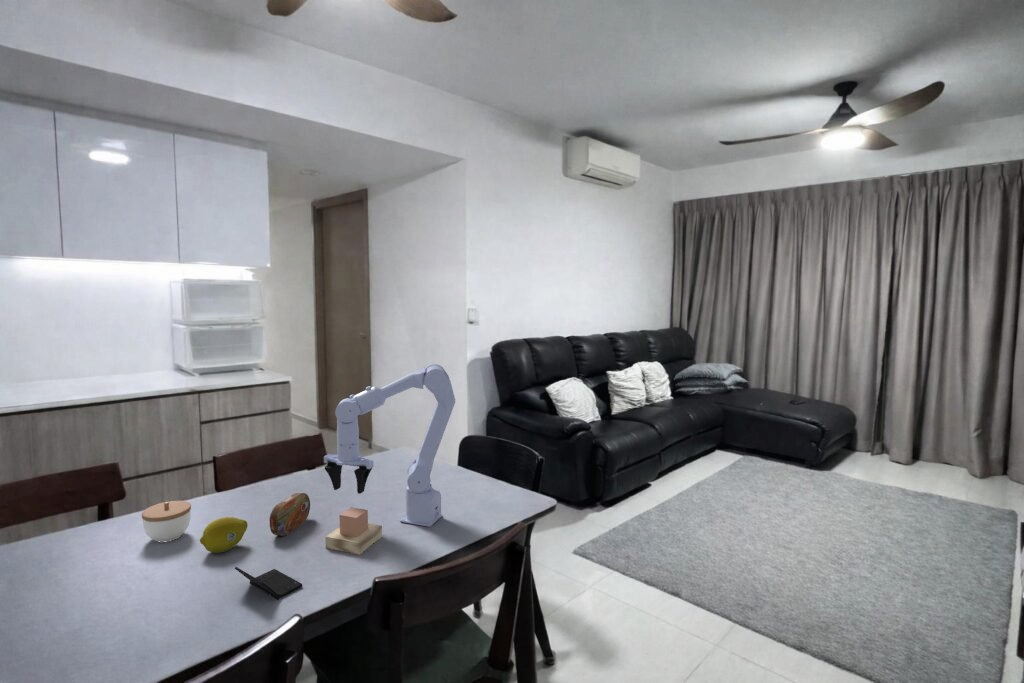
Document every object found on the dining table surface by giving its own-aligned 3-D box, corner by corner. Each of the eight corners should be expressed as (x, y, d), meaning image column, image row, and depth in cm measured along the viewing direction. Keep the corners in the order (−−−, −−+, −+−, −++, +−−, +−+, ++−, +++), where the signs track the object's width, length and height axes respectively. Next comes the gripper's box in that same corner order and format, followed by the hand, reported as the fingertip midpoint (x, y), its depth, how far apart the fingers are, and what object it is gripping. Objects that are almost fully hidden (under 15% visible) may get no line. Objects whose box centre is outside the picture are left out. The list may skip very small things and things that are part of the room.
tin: (278, 541, 136) (277, 510, 135) (267, 540, 137) (266, 509, 136) (311, 517, 151) (310, 488, 150) (301, 516, 151) (300, 487, 151)
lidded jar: (201, 532, 140) (199, 498, 139) (160, 550, 131) (158, 514, 130) (175, 524, 145) (173, 491, 144) (134, 541, 135) (131, 506, 134)
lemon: (203, 562, 125) (201, 530, 125) (197, 550, 131) (195, 519, 130) (252, 548, 132) (251, 518, 132) (244, 537, 138) (243, 507, 137)
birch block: (381, 536, 139) (381, 525, 139) (359, 554, 130) (359, 543, 130) (349, 530, 143) (349, 520, 142) (325, 547, 133) (325, 536, 133)
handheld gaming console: (309, 575, 118) (282, 553, 112) (291, 608, 113) (261, 587, 107) (273, 570, 123) (245, 548, 117) (255, 601, 118) (224, 581, 112)
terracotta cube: (368, 528, 138) (367, 509, 137) (356, 536, 133) (356, 517, 132) (351, 525, 139) (351, 507, 139) (339, 533, 134) (339, 514, 134)
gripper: (316, 444, 143) (317, 492, 144) (362, 449, 139) (363, 499, 140) (332, 437, 150) (333, 483, 151) (377, 442, 145) (378, 489, 147)
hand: (349, 490), depth 146 cm, fingers open, 7 cm apart
